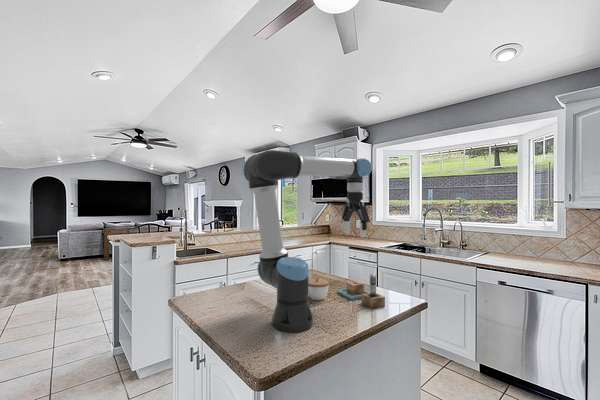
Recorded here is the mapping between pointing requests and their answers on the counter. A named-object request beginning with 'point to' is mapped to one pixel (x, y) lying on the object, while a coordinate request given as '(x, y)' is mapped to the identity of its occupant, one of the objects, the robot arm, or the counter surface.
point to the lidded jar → (317, 288)
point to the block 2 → (373, 300)
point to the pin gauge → (373, 285)
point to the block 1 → (355, 288)
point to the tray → (349, 296)
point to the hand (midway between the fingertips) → (354, 235)
